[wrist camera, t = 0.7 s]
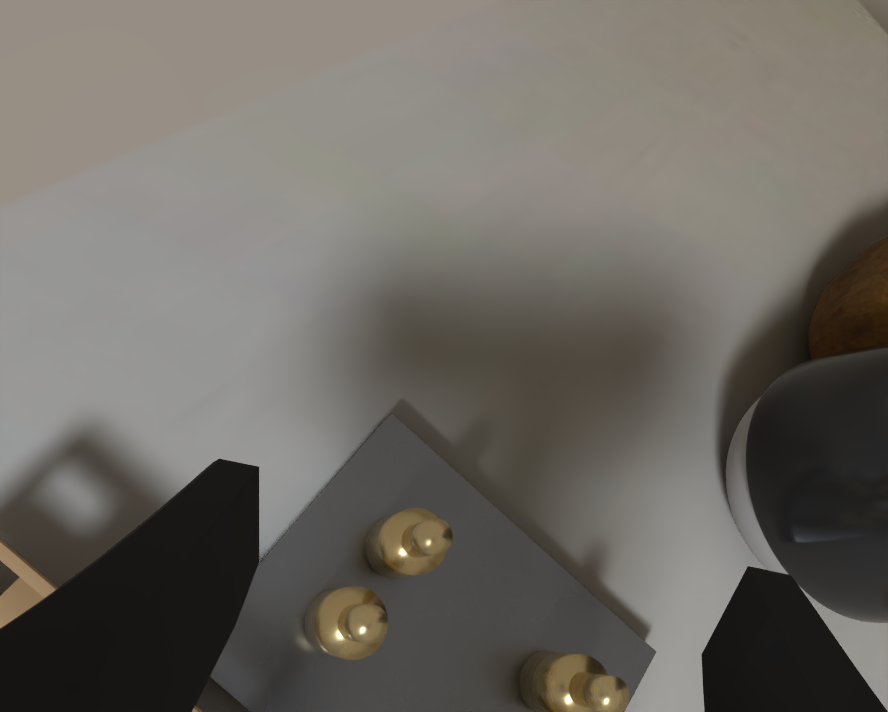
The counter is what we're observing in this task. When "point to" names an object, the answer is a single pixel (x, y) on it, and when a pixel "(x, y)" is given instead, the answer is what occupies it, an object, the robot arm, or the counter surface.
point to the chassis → (421, 604)
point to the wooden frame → (24, 588)
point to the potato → (853, 306)
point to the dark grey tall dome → (819, 480)
